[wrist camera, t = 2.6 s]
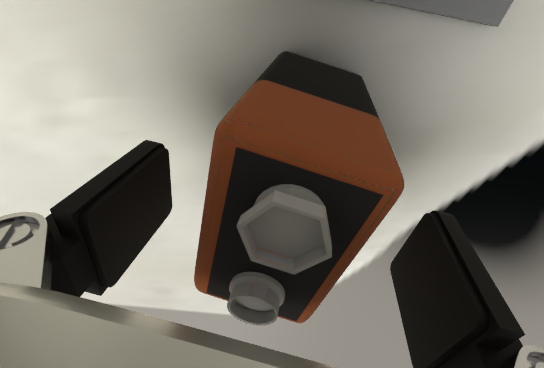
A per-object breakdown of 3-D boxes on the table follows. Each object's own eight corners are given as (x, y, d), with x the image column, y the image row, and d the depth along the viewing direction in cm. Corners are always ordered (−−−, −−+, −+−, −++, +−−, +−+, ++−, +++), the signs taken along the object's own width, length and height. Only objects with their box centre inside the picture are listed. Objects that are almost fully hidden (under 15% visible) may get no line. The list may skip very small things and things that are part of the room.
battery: (367, 75, 13) (435, 214, 4) (316, 184, 17) (304, 359, 9) (280, 46, 12) (192, 135, 4) (250, 162, 17) (176, 319, 8)
